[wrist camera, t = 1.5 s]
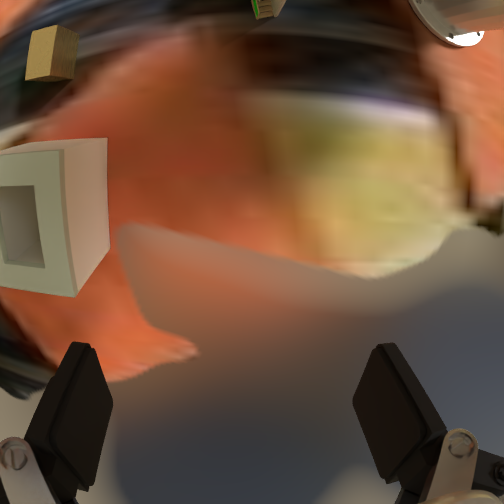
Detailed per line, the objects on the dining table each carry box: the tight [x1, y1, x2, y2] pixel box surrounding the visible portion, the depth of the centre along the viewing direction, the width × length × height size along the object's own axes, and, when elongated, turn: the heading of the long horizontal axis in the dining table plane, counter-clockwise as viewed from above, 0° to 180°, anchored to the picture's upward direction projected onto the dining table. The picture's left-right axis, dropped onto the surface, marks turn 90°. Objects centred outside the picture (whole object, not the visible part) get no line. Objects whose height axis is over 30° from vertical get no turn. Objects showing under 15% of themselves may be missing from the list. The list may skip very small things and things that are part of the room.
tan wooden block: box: [25, 25, 79, 82], centre depth 20 cm, size 5×3×5 cm, turn 174°
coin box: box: [0, 138, 111, 298], centre depth 24 cm, size 12×10×10 cm
